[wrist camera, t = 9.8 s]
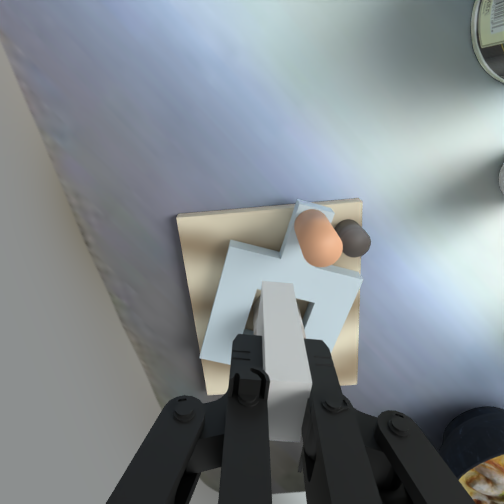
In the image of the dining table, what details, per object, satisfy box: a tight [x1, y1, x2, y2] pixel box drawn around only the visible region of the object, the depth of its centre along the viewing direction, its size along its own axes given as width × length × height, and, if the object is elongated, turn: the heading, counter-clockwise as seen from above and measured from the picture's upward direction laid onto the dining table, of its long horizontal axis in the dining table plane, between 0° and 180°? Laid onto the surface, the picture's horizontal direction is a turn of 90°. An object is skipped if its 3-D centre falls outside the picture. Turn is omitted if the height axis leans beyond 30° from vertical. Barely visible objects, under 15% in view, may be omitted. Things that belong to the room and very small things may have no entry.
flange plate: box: [199, 199, 363, 365], centre depth 31 cm, size 17×12×7 cm
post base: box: [176, 198, 371, 395], centre depth 33 cm, size 20×16×7 cm
